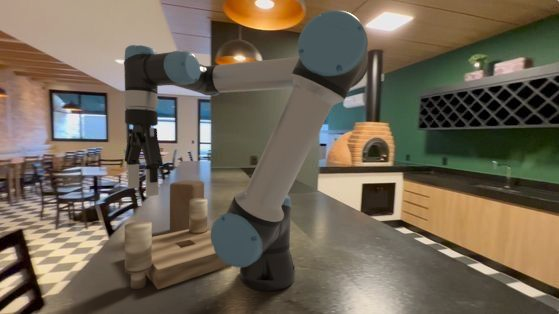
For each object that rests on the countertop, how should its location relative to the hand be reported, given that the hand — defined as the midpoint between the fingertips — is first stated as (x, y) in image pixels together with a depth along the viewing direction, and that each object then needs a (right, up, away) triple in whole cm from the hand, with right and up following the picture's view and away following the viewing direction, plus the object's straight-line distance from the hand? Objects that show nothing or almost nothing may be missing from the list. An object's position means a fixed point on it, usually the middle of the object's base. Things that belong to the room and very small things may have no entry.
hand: (142, 191), depth 71 cm
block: (-1, -21, +38) cm, 43 cm away
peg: (0, -23, -3) cm, 23 cm away
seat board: (+7, -23, +13) cm, 27 cm away
